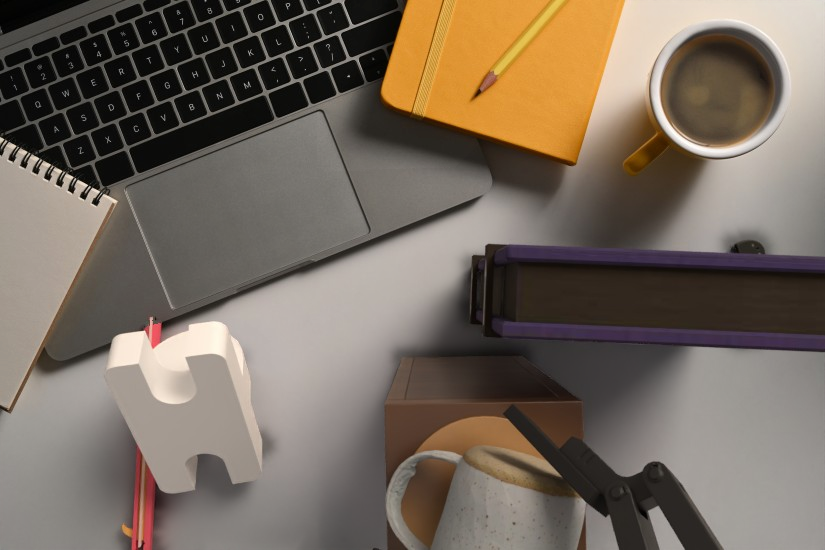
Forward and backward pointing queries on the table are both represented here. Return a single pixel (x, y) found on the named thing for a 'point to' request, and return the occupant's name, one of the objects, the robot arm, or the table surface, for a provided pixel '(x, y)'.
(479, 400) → the brown square coaster
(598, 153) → the table surface
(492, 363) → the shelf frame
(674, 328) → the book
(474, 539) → the ceramic mug
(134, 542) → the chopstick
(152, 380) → the white slotted bracket
